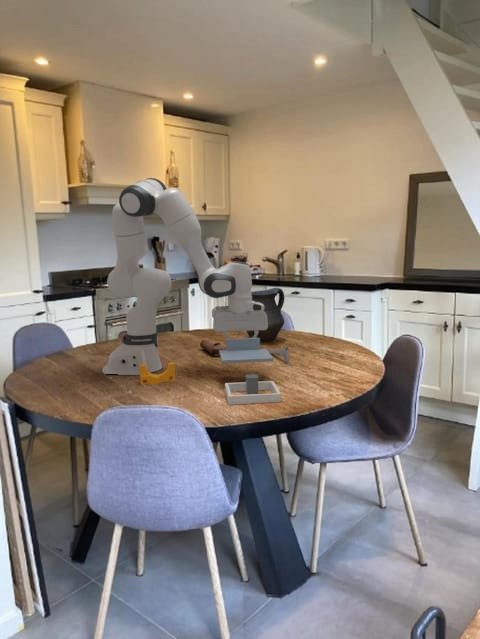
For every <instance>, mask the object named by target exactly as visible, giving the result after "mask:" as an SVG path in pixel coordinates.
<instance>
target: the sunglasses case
mask: <svg viewBox="0 0 480 639" xmlns="http://www.w3.org/2000/svg"><path fill="white" fill-rule="evenodd" d="M199 346H200V348H201V349H203V350H205V351H207V352H208V353H210V354H211V355H212V356H214V357H218V356H220V354H219V350H226V345H223V344H222V343H221V342H220V341H217V340H212V339H211V340H210V339H202V340H201V341H200V344H199Z"/></svg>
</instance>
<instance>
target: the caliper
mask: <svg viewBox="0 0 480 639" xmlns="http://www.w3.org/2000/svg"><path fill="white" fill-rule="evenodd" d="M268 351H269V353H270V354H278V355H280V357H283V362H284V363H286V364H288V363H289V362H290V352H289V347H288V346H284V348H281V349H274V348H271V349H269V350H268Z"/></svg>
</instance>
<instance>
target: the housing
mask: <svg viewBox="0 0 480 639" xmlns="http://www.w3.org/2000/svg"><path fill="white" fill-rule="evenodd" d="M258 391H271V392H272V393H258V394H250V395H246V394H234V395H232V393H234V392H236V393H237V392H246V381H243V382H225V383H224V392H225V395H226V396H225V397H226V400H227V404H228V406H234V405H235V404H236V405H247V404H248V405H249V404H250V405H251V404H252V403H253V404H269V402H271V403H282V393H281V391H280V390H279V387H277V385H276V383H275V381H274V380H266V381H265V380H263V381H258Z"/></svg>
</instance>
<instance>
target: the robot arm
mask: <svg viewBox="0 0 480 639" xmlns="http://www.w3.org/2000/svg"><path fill="white" fill-rule="evenodd" d="M111 213H112V214H111V215H112V216H111V218H112V220H111V221H112V228H113V236H114V241H115V246H116V253H117V256H116V257H117V259H116V264H115V266H114V268H113V269H112V270H111V271H110V273H109V274H108V276H107V281H106V282H107V287H108V290H109V291H110V293H111V294H113V295H116V296H119V297H123V298H125V297H126V298H137V299H136V300H137V302H136V305H135V306H133V307H132V308H131V309H129V310H128V311H127V313H126V316H125V319H126V321H125V322H126V332H123V333H122V334H121V343H122V344H120V345H119V346H118V347H116V348H115V349H114V350H113V351H112V352H111V353H110V355H109V356H108V361H107V364H105V365H104V366H103V367H102V371H101V372H103V373H104V374H103V373H102V374H103V375H105V374H118V375H117V376H140V364H145V366H146V368H147V370H148V371H149V372H150V373H153V372H157V371H159V370H161V369H162V368H163V365H162V363H161V359H160V356H159V350H158V349H159V348H158V346H159V335H158V332H157V311H158V308H159V306H160V303H161V301H162V300H163V298H165V297H166V296H167V295H168V294H169V293H170V291H171V288H172V278H171V276H170V274H169V273H168V271H166V270H163V269H159V268H151V267H150V268H149V267H148V268H146V267H145V268H144V267H142V268H141V267H140V266H139V261H140V260H141V259H143V258H144V257H145V256H146V255H147V253H148V250H149V246H148V240H147V236H146V230H145V225H144V217H145V216H152V215H153V214H156V215H158V216H159V217H160V218H161V220H162V222H163V223H164V225H165V227H166V229H167V231H168V232H169V234H170V236H172V238H173V239H174V241H176V243H177V244H178V245H179V246H180V248H182V249H183V250H184V252H185V253H186V255H187V256H188V258H189V260H190V262H191V264H192V266H193V267H194V269H195V272H196V274H197V281H198V282H197V283H198V286H199V290H201V292H202V293H203V294H204V295H207V296H209V297H210V298H213V299H220V298H223V297H224V298H225V297H227V305H223V306H220V305H218V306H214V308H212V309H211V316H212V318H213V322H212V330H213V331H214V332H215V333H216V332H217V333H218V332H219V333H220V332H222V336H223V337H224V338H225V340H226V339H231V338H230V337H228V336H227V334H228V333H227V332H246V331H253V330H254V333H255V334H254V336H253V337H251V338H256V337H257V335H258V330H266V329H267V328H268V320H267V315H266V313H265V312H264V311H263V310H264V305H263V304H262V303H259V302H256V301H252V295H251V292H252V287H253V281H252V280H253V279H252V270H251V267H250V265H249V264H248V263H246V262H242V261H235V260H230V261H229V262H228V263H226V264H225V265H223V266H222V267H220V268H218V269H217V268H215V267H214V265H213V264H212V262H211V260H210V258H209V256H208V254H207V252H206V251H205V248H204V247H203V243H202V228H201V224H200V221H199V218H198V216H197V215H196V213H195V211H194V209H193V207H192V205H191V204H190V202H189V201H188V199H187V198H186V196H184V194H183V192H181V190H179V189H178V188H175V187H174V188H173V187H170V188H169V187H168V188H167V187H166V185H165V183H163V181H161V180H160V179H158V178H152V177H149V178H146V179H142V180H137V181H135V183H132V184H130V185H128V186H127V187H124V189H122V191H121V192H120V195H119V199H118V202H117V204H115V205H114V206H113V207H112V211H111Z"/></svg>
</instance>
